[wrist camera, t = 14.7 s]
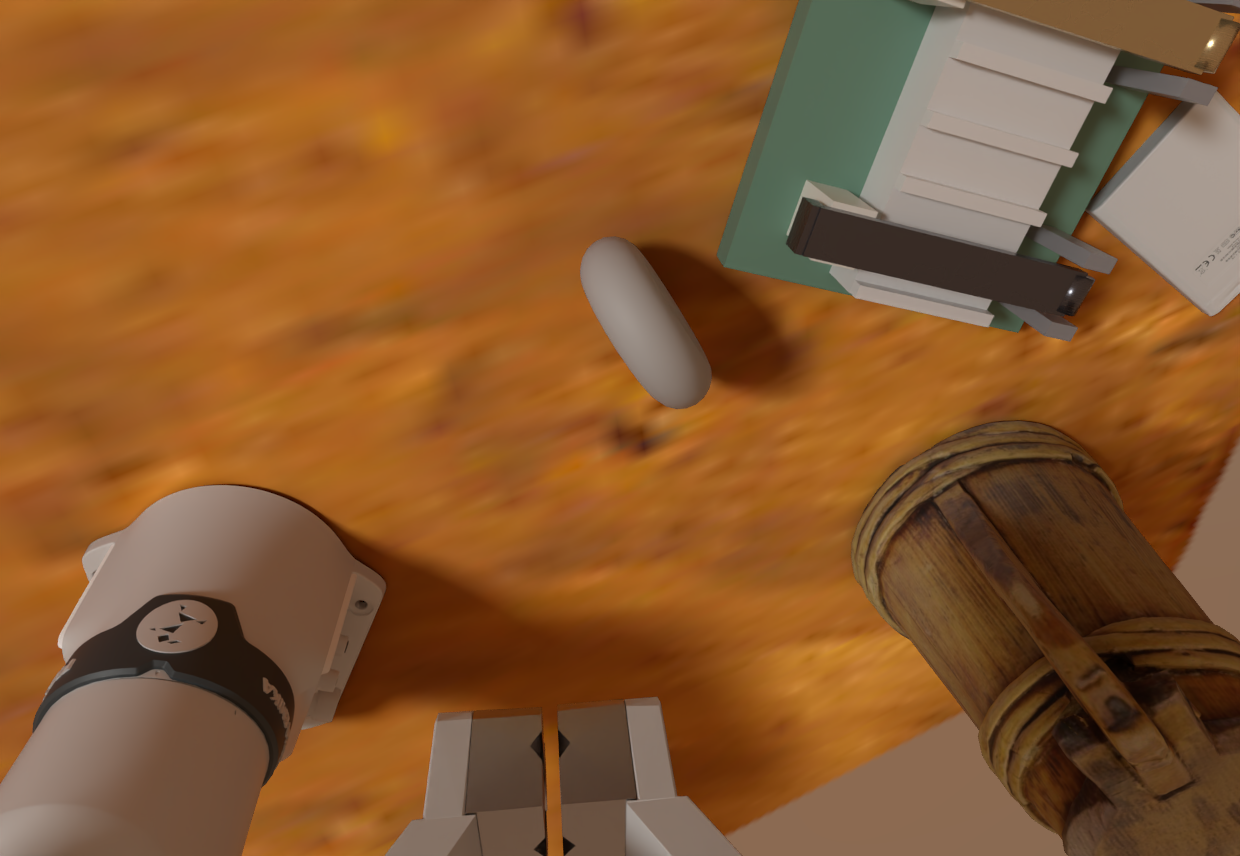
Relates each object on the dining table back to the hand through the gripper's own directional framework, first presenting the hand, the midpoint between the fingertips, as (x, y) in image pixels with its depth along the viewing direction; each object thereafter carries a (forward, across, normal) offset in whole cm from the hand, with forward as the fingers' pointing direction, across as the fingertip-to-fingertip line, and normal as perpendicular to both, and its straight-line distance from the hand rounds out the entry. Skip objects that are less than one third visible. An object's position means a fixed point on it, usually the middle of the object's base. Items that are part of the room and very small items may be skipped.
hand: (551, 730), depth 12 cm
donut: (+35, -6, +7) cm, 36 cm away
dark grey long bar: (+30, -20, +3) cm, 36 cm away
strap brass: (+30, -23, -9) cm, 39 cm away
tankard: (+35, -29, +24) cm, 52 cm away
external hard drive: (+36, -39, +2) cm, 53 cm away
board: (+35, -22, -3) cm, 41 cm away
